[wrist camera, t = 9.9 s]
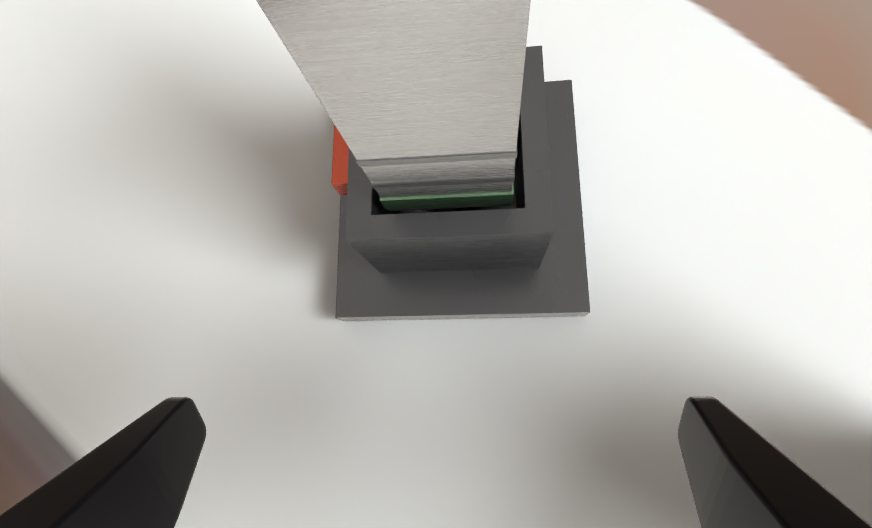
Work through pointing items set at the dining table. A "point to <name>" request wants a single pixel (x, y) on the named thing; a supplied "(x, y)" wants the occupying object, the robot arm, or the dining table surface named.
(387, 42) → the post
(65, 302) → the dining table surface
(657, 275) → the dining table surface
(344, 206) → the stand
